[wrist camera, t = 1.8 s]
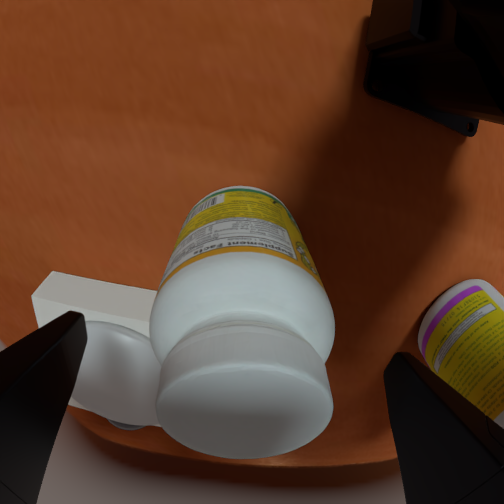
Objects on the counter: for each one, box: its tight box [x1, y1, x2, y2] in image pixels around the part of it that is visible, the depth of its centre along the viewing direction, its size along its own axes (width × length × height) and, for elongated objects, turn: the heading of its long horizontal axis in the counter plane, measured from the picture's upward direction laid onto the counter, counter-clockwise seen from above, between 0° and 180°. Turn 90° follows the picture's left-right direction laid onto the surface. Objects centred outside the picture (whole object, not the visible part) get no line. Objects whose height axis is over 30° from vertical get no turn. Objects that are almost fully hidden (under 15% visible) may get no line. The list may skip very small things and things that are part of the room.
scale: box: [32, 271, 162, 430], centre depth 17 cm, size 9×10×4 cm
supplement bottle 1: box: [149, 186, 335, 459], centre depth 11 cm, size 5×5×10 cm
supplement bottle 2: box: [418, 279, 504, 429], centre depth 12 cm, size 7×7×13 cm
